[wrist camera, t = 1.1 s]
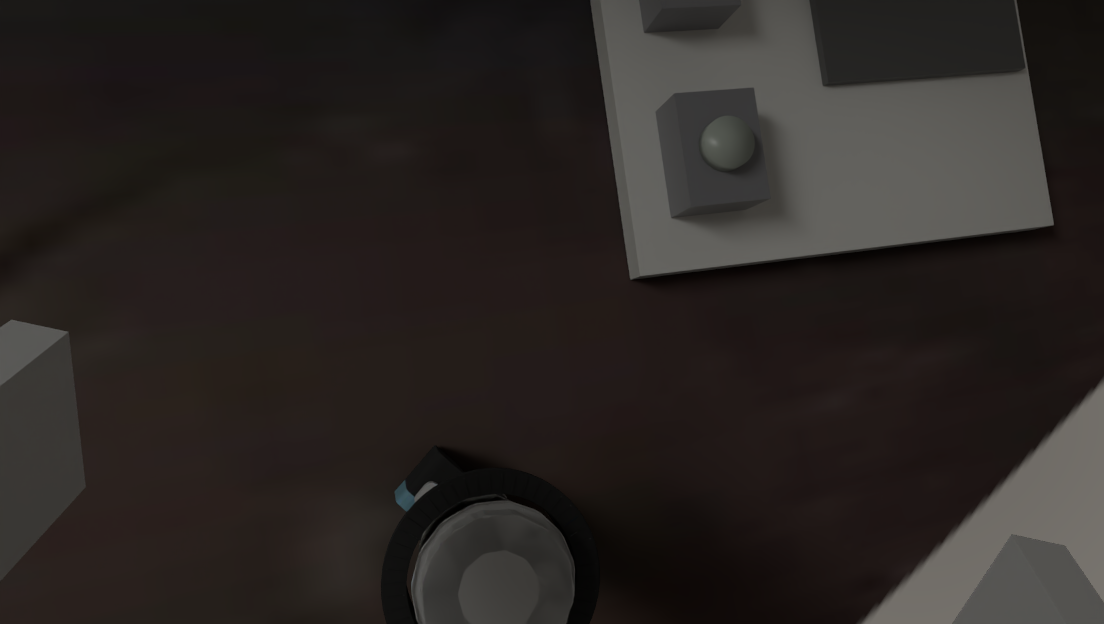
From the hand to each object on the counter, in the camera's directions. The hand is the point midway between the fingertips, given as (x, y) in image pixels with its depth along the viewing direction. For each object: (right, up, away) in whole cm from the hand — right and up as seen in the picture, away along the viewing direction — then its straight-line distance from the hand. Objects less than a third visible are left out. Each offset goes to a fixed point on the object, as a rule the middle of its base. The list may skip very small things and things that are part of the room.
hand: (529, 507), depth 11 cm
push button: (-2, -5, +17) cm, 18 cm away
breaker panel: (+11, +16, +21) cm, 28 cm away
